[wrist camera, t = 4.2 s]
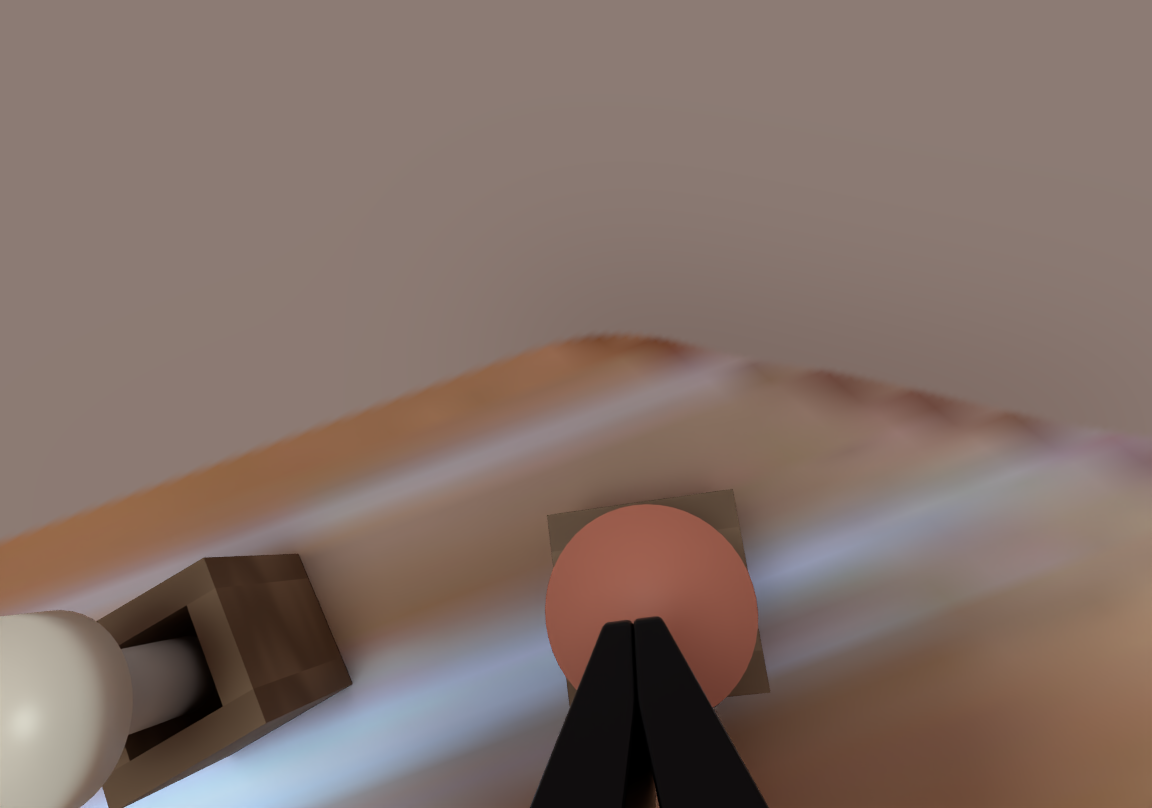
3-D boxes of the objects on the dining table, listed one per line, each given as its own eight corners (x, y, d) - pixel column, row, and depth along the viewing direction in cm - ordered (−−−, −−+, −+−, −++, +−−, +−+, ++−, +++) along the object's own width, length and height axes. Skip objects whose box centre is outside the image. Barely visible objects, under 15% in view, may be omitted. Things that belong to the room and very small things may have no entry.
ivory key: (278, 710, 17) (107, 783, 12) (144, 788, 17) (-83, 895, 12) (223, 566, 18) (45, 578, 13) (96, 641, 18) (-129, 681, 13)
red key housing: (747, 657, 18) (770, 692, 14) (593, 673, 19) (570, 712, 15) (719, 499, 20) (732, 489, 15) (573, 520, 20) (547, 515, 16)
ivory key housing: (352, 684, 20) (265, 722, 16) (229, 756, 20) (110, 814, 16) (297, 553, 21) (203, 557, 17) (181, 622, 21) (59, 643, 17)
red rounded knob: (746, 661, 17) (777, 714, 12) (591, 678, 17) (558, 736, 12) (718, 504, 18) (736, 491, 13) (572, 524, 18) (534, 519, 13)
